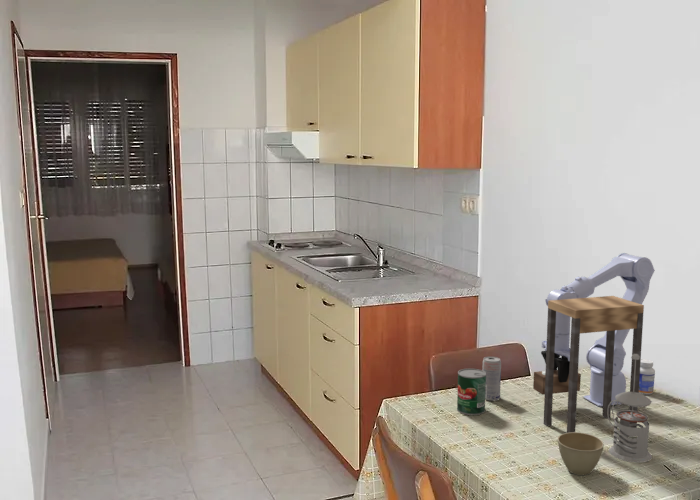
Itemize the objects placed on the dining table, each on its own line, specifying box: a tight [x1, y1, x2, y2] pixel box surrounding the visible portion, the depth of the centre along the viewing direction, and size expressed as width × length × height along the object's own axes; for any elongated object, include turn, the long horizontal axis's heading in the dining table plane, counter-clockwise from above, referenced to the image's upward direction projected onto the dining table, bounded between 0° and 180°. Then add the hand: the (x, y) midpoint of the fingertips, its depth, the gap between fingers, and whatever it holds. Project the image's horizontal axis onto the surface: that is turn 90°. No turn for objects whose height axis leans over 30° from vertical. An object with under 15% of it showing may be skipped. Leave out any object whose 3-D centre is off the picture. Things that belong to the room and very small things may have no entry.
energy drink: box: [482, 356, 502, 402], centre depth 203 cm, size 5×5×12 cm
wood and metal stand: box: [543, 295, 645, 433], centre depth 179 cm, size 20×12×34 cm, turn 106°
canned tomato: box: [456, 368, 486, 416], centre depth 194 cm, size 8×8×11 cm
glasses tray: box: [532, 369, 582, 396], centre depth 195 cm, size 12×5×6 cm, turn 106°
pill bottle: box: [639, 358, 656, 396], centre depth 208 cm, size 5×5×10 cm
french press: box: [607, 354, 653, 464], centre depth 165 cm, size 10×12×25 cm
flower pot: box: [557, 431, 604, 476], centre depth 157 cm, size 10×10×7 cm
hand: (557, 378), depth 195 cm, fingers closed on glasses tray, 5 cm apart
